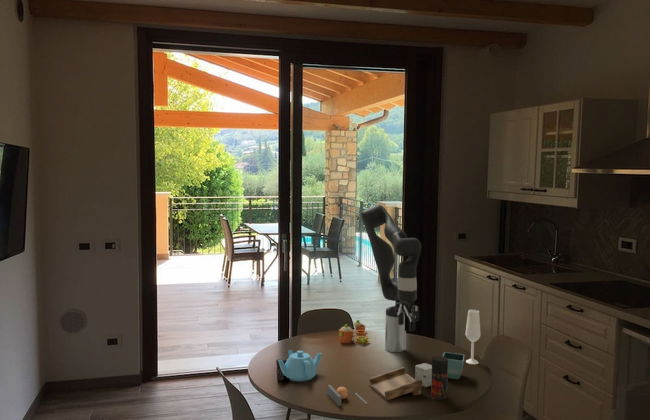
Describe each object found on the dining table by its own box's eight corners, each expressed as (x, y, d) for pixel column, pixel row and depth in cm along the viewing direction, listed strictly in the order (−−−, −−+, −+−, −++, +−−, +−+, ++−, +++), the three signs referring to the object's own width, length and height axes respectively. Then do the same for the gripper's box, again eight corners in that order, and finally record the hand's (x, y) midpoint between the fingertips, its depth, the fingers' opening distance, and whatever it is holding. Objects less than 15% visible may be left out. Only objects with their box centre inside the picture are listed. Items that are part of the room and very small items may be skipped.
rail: (330, 393, 196) (330, 384, 195) (341, 405, 185) (341, 396, 185) (327, 394, 195) (327, 385, 195) (338, 406, 185) (338, 396, 185)
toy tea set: (369, 347, 252) (369, 328, 251) (338, 346, 253) (338, 327, 252) (367, 331, 278) (367, 314, 277) (339, 331, 279) (339, 313, 278)
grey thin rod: (351, 388, 201) (351, 387, 201) (368, 403, 187) (368, 403, 187) (349, 388, 201) (349, 388, 201) (365, 404, 187) (365, 403, 187)
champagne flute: (463, 364, 230) (465, 312, 228) (465, 359, 236) (466, 308, 234) (479, 366, 227) (480, 313, 226) (480, 361, 233) (482, 310, 232)
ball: (341, 398, 194) (332, 393, 192) (346, 387, 194) (337, 383, 193) (346, 402, 190) (336, 398, 188) (351, 392, 190) (342, 387, 189)
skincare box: (414, 382, 208) (414, 365, 207) (424, 379, 211) (424, 362, 211) (425, 387, 203) (426, 369, 202) (435, 384, 206) (436, 366, 206)
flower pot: (464, 374, 217) (464, 354, 217) (462, 382, 209) (463, 361, 208) (443, 371, 220) (443, 351, 219) (441, 379, 212) (441, 358, 211)
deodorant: (429, 393, 197) (430, 356, 196) (444, 393, 197) (445, 355, 197) (433, 400, 191) (434, 361, 190) (449, 400, 192) (450, 361, 191)
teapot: (275, 380, 208) (275, 355, 207) (288, 368, 222) (288, 344, 221) (310, 385, 203) (311, 359, 203) (321, 372, 218) (322, 347, 217)
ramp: (403, 381, 209) (404, 366, 209) (422, 394, 196) (422, 379, 196) (368, 386, 203) (369, 371, 203) (385, 400, 190) (385, 385, 190)
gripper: (389, 285, 207) (389, 323, 208) (408, 292, 194) (408, 334, 195) (405, 283, 210) (405, 321, 211) (425, 290, 197) (424, 331, 198)
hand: (406, 327), depth 203 cm, fingers open, 8 cm apart
